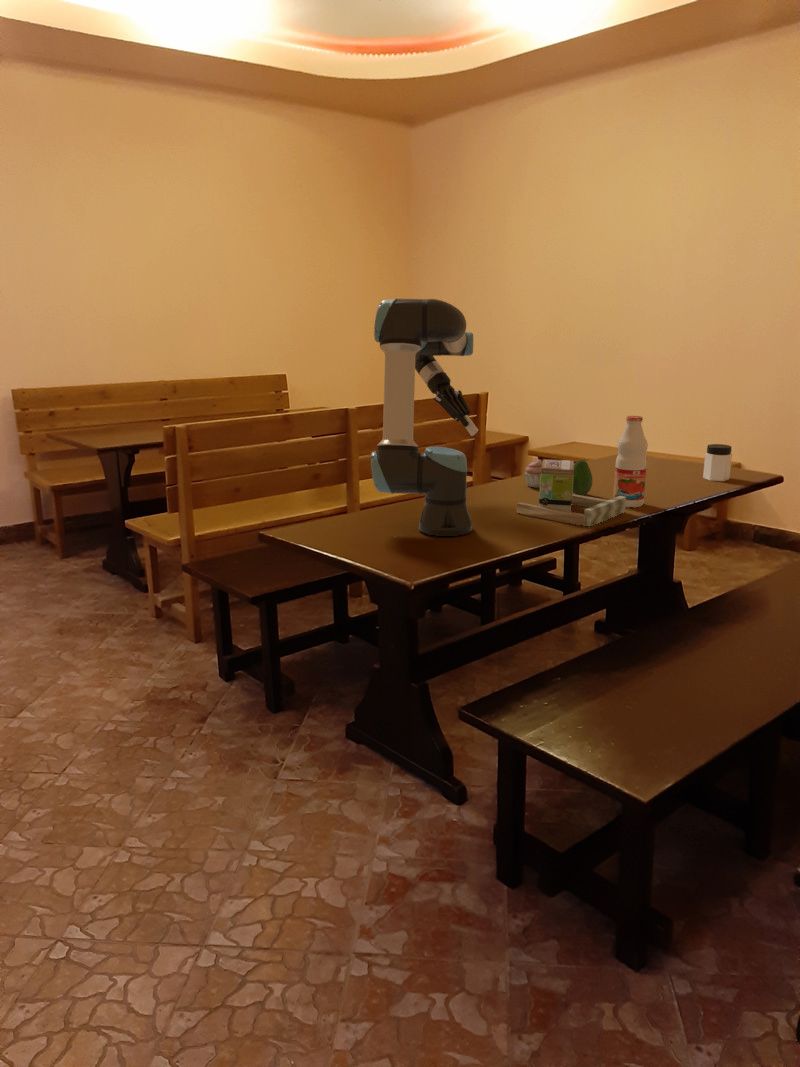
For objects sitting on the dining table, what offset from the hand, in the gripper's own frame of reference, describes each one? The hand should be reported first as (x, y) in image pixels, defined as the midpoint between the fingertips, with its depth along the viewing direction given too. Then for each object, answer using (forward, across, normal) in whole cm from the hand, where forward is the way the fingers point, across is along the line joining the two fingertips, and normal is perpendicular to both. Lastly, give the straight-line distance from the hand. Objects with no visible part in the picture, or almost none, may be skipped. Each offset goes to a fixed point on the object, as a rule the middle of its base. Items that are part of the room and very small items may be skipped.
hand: (474, 433), depth 273 cm
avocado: (+35, -21, +5) cm, 41 cm away
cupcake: (+22, -23, -8) cm, 33 cm away
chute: (+41, +1, +12) cm, 42 cm away
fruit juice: (+47, -20, +18) cm, 54 cm away
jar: (+53, -74, +23) cm, 94 cm away
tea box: (+37, +1, +8) cm, 38 cm away
